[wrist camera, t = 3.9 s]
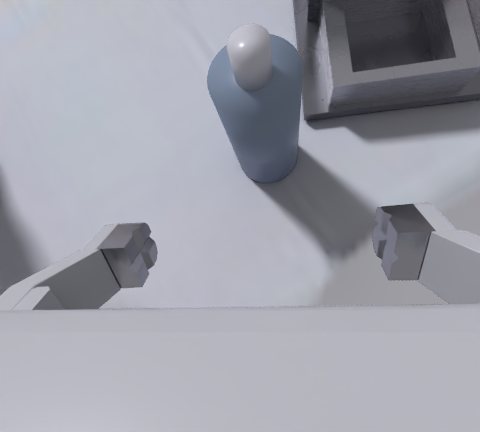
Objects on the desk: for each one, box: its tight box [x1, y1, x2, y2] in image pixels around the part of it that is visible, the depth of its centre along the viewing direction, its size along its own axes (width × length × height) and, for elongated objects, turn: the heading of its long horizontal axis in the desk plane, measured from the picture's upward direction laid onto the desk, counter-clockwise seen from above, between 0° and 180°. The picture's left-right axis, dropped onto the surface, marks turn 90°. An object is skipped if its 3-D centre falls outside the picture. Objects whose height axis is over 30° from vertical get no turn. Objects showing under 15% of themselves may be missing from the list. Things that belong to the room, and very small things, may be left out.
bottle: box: [207, 24, 303, 183], centre depth 18 cm, size 5×5×12 cm
